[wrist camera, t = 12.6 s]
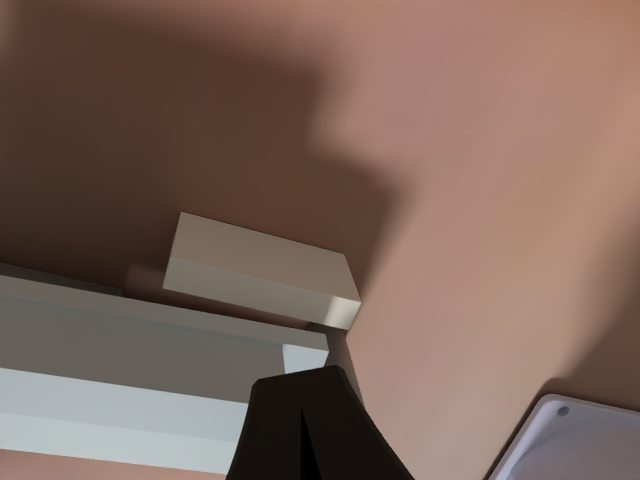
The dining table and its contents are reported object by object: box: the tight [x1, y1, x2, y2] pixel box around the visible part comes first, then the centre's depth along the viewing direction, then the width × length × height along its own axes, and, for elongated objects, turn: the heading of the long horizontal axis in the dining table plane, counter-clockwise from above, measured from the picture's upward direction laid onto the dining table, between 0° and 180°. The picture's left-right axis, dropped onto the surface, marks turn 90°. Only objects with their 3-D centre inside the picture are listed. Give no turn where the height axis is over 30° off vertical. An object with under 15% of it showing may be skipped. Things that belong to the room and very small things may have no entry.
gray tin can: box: [0, 262, 124, 297], centre depth 17 cm, size 6×3×3 cm
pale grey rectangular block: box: [162, 212, 365, 408], centre depth 16 cm, size 17×8×6 cm, turn 70°
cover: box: [0, 275, 329, 474], centre depth 14 cm, size 11×5×3 cm, turn 73°
